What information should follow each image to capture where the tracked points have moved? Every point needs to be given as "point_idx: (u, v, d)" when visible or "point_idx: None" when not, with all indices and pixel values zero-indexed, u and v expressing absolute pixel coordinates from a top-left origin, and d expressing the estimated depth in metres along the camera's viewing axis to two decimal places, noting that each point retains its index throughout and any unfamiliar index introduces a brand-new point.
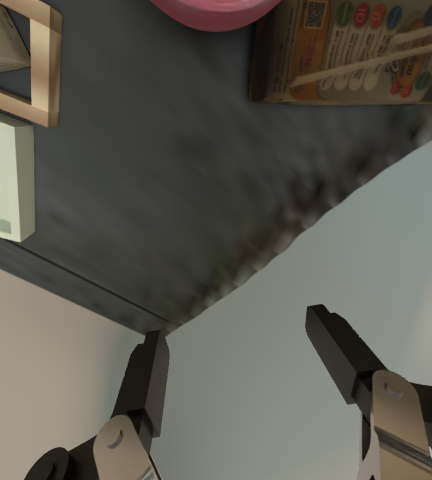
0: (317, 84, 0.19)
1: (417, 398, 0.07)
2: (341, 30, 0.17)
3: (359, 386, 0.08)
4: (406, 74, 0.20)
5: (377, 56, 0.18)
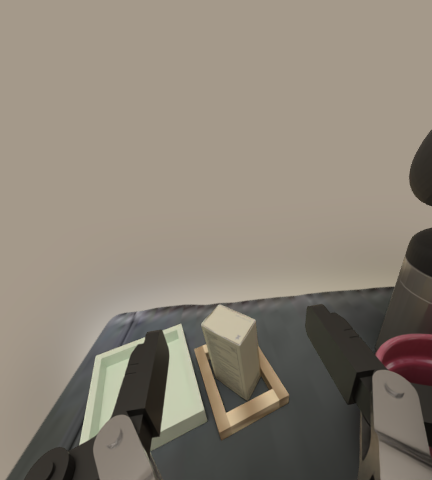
0: None
1: (417, 398, 0.07)
2: None
3: (359, 386, 0.08)
4: None
5: None
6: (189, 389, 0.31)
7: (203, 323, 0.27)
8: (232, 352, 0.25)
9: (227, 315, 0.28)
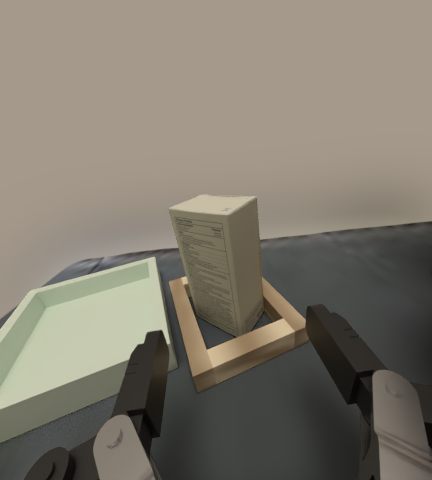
0: None
1: (417, 398, 0.07)
2: None
3: (359, 386, 0.08)
4: None
5: None
6: None
7: (172, 207, 0.17)
8: (216, 241, 0.15)
9: (212, 198, 0.17)
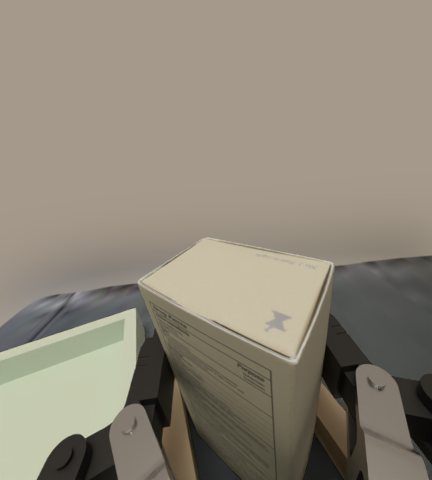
0: None
1: (397, 391, 0.07)
2: None
3: (344, 380, 0.08)
4: None
5: None
6: None
7: (146, 278, 0.08)
8: (248, 390, 0.06)
9: (229, 255, 0.09)
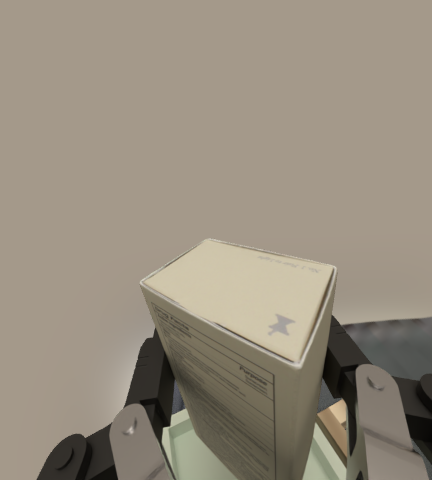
0: None
1: (397, 391, 0.07)
2: None
3: (344, 380, 0.08)
4: None
5: None
6: None
7: (148, 279, 0.08)
8: (250, 393, 0.06)
9: (231, 257, 0.08)
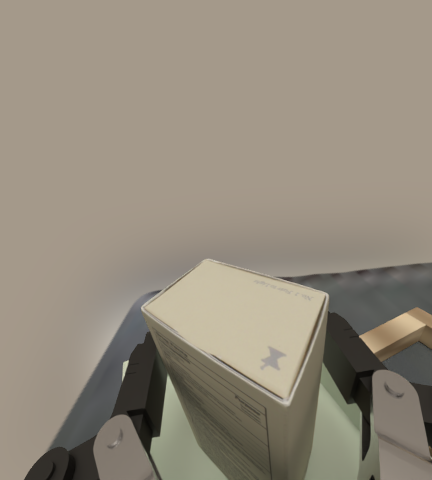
0: None
1: (417, 398, 0.07)
2: None
3: (359, 386, 0.08)
4: None
5: None
6: None
7: (149, 304, 0.08)
8: (246, 419, 0.06)
9: (228, 281, 0.09)
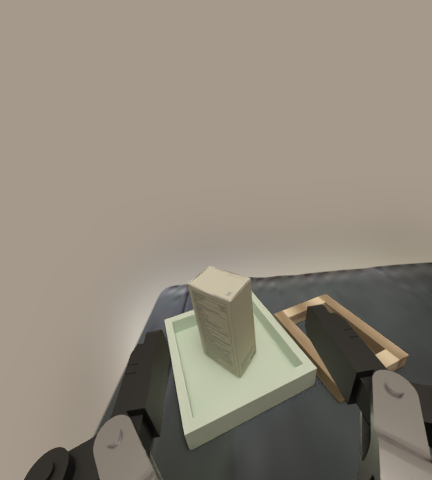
0: None
1: (417, 398, 0.07)
2: None
3: (359, 386, 0.08)
4: None
5: None
6: (281, 353, 0.27)
7: (190, 282, 0.23)
8: (221, 313, 0.21)
9: (218, 274, 0.24)
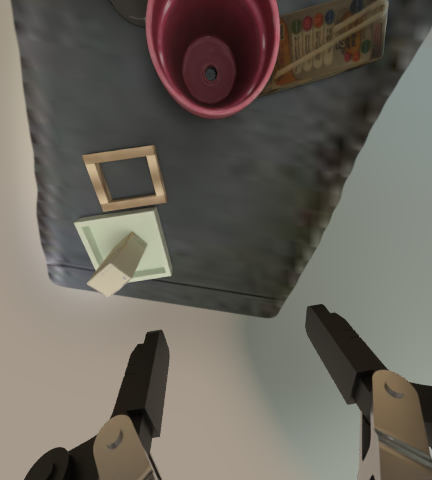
0: (291, 71, 0.29)
1: (417, 398, 0.07)
2: (297, 36, 0.27)
3: (359, 386, 0.08)
4: (352, 46, 0.29)
5: (326, 42, 0.28)
6: None
7: (106, 296, 0.34)
8: None
9: (100, 280, 0.33)
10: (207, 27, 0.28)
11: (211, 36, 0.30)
